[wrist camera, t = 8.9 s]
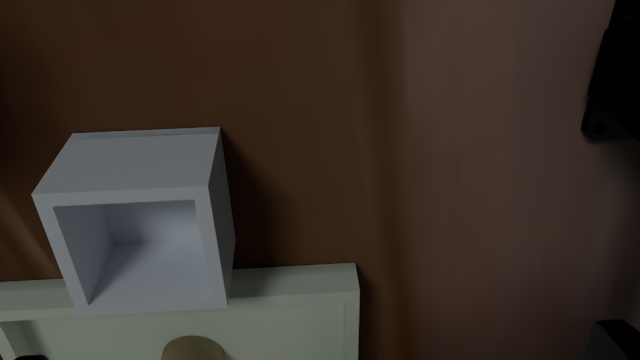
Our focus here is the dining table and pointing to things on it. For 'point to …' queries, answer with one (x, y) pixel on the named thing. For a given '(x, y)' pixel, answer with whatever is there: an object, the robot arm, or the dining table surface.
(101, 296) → the grey square sleeve
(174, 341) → the dowel
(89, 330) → the tray
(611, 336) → the robot arm
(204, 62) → the dining table surface
